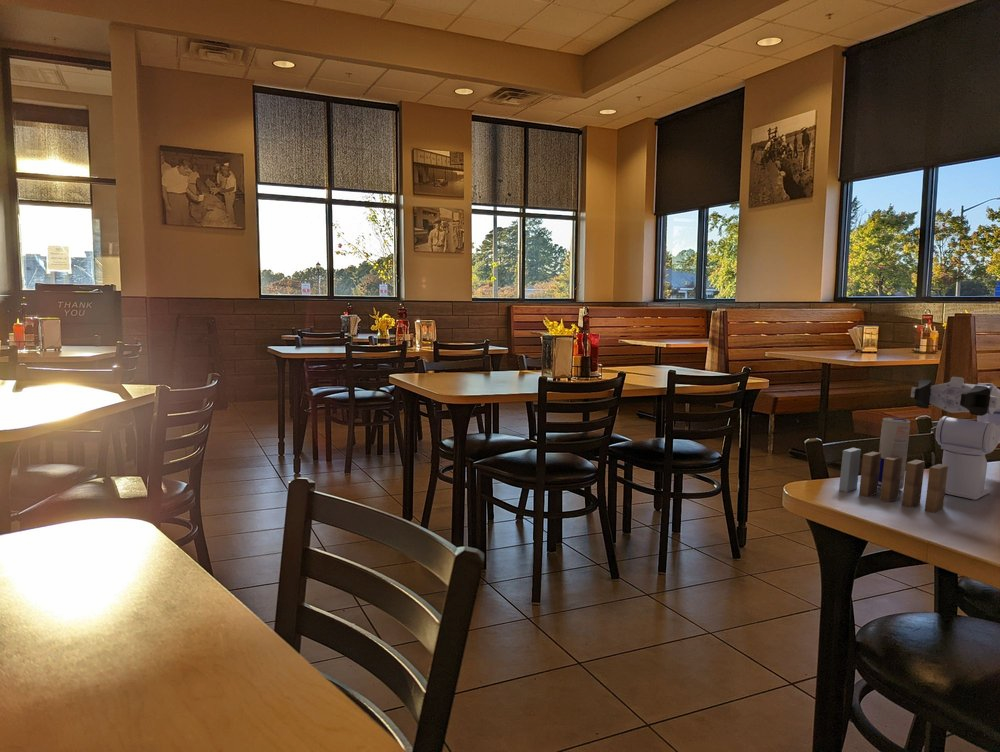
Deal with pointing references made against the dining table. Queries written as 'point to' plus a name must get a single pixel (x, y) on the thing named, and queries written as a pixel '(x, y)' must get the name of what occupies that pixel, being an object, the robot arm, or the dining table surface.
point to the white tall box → (894, 444)
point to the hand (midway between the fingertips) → (939, 396)
